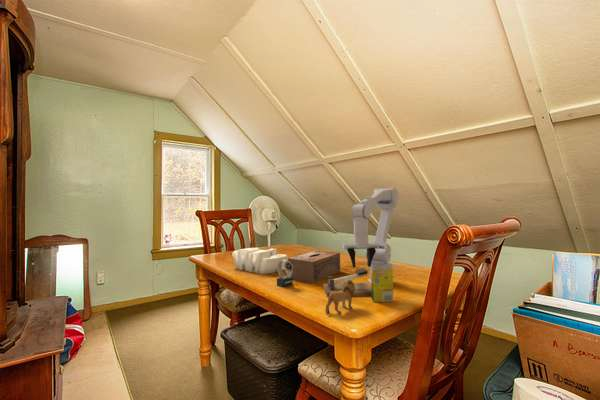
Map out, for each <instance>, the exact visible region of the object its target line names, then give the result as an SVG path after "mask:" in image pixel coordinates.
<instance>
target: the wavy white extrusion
mask: <svg viewBox="0 0 600 400" xmlns="http://www.w3.org/2000/svg"><path fill="white" fill-rule="evenodd" d="M277 251H278V249H277V248H270V249H267V250H265V249H260V248H259V247H248V248H241V249H236V250H234V251H233V252H232V253H231V255H232V258H233V259H232V260H233V263H234V266H235V267H234V268H235V270H239V271H245V272H249V273H255V274H261V275H266V274H267V275H268V274H272V273H273V274H274V273H278V270H277V265H278V262H279V261H281V260H288V258H289V256H288V255H287V254H284V253H283V254H277ZM281 267H282V268H283V262H282V264H281Z"/></svg>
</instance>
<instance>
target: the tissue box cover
mask: <svg viewBox="0 0 600 400" xmlns="http://www.w3.org/2000/svg"><path fill="white" fill-rule="evenodd" d="M287 260H288V261H290V262H291V263H292V264H293V273H292V275H291V276H290V277H292V278H293V281H294V280H295V281H299V282H303V283H309V284H310V283H311V284H315V283H317V282H320V281H322V280H324V279H327V278H328V276H333V275H335V274H337V273H339V272H341V253H340V252H337V251H336V252H335V251H326V250H313V251H309V252H306V253H303V254H302V253H301V254H299V255H295V256H292V257H287Z"/></svg>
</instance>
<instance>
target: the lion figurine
mask: <svg viewBox="0 0 600 400" xmlns="http://www.w3.org/2000/svg"><path fill="white" fill-rule="evenodd" d="M343 283H344V286H343V290H341V291H338V292H337V291H334V292H331V293H330V294H329V297H327V304H325V313H326V315H329V314H330V306H331V304H332V303H333V305H334V310H335V311H336V313H337V314H342V311H341V310H339V304H340V303H342V304H341V307H343V308H346V307H347V306H348V309H351V310H352V309H353V306H352V302H353V301H352V298H354V297H355V296H354V292H355V286H354V283H355V282H353V279H350V280H346V281H343ZM346 301H347V302H348V305H347V306H346Z"/></svg>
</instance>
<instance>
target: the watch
mask: <svg viewBox="0 0 600 400" xmlns="http://www.w3.org/2000/svg"><path fill="white" fill-rule="evenodd" d="M282 262H283V266H282V267H281V264H282ZM277 270H278V272H277V273H278V275H279V276H280V277H279V276H278V277H276V286H277V287H280V288H286V287H289V286H292V285H293V283H294V282H293V281H294V280H293V278H292V277H290V276H291V275H292V273H293V264H292V263H291V262H290V261H288V259H286V260H281V261H279V262H278V265H277ZM284 272H286V273H284ZM285 274H287V275H285Z"/></svg>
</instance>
